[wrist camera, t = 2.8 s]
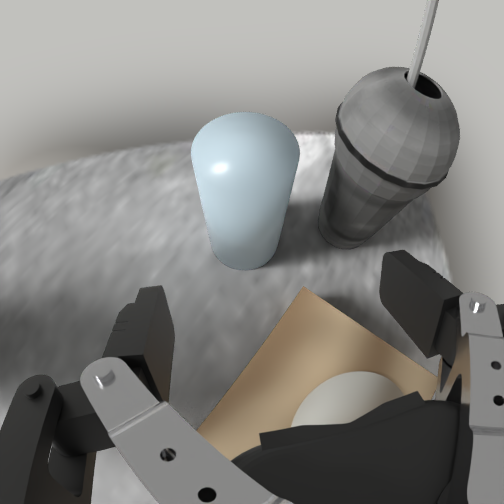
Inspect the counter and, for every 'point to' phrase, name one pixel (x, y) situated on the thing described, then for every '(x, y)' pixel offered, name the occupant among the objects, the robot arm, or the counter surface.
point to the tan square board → (311, 378)
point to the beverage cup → (387, 147)
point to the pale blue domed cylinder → (245, 184)
